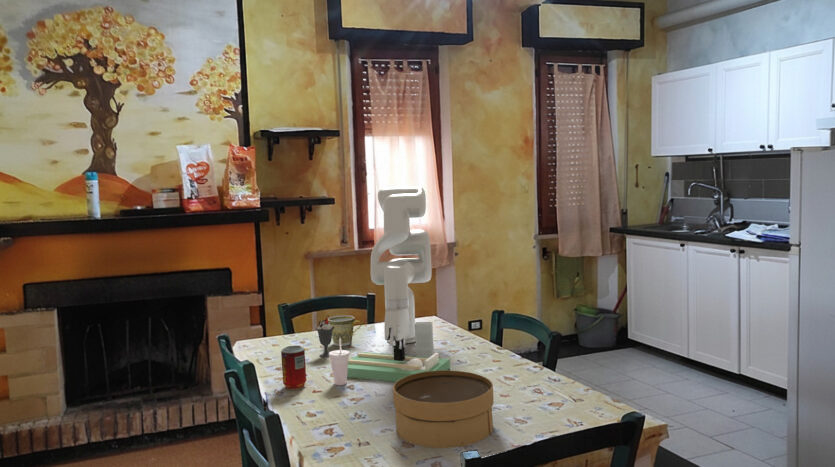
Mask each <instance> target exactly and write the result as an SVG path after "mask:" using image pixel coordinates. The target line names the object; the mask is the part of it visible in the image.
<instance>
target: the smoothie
mask: <svg viewBox="0 0 835 467" xmlns="http://www.w3.org/2000/svg"><path fill="white" fill-rule="evenodd" d="M339 344H340V346H339V349H336V350H331V351H329V357H328V358H329V359H330V365H331V370H332V375H333V376H332V377H333V382H334V385H336V386H343V385H346V384H347V382H348V377H347V372H348V359H349V357H350V356H351V355H350V351H349V350H347V349H343V348H342V346H341V339H339Z"/></svg>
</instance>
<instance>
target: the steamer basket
mask: <svg viewBox="0 0 835 467" xmlns="http://www.w3.org/2000/svg"><path fill="white" fill-rule="evenodd" d="M392 394H393V396H392V397H393V406H394V408H395V428H396V429H395V431H396V434H397V436H398V437H399V438H400V439H401V440H403V441H405V442H407V443H410V444H412V445H415V446H420V447H425V448H432V449H433V448H437V449H444V448H445V449H446V448H447V449H449V448H460V447H466V446H469V445H473V444H476V443H479V442H480V441H483V440H484V439H486V438H487V437H489V436H491V434H492V433H493V430H494V422H493V421H494V419H493V411H492V409H493V406H494V385H493V381H492V380H490V379H489V378H487V377H485V376H483V375H481V374H477V373H473V372H468V371H460V370H447V371H445V370H442V371H428V372H421V373H416V374H412V375H409V376H406V377H404V378H402V379H400V380H398V381H397V382H394V385H392Z"/></svg>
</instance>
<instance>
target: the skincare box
mask: <svg viewBox="0 0 835 467" xmlns="http://www.w3.org/2000/svg"><path fill="white" fill-rule="evenodd" d="M414 343H415V356H419V357H431V356H432V355H433V354H435V349H434V347H435V346H434V345H435V344H434V330H433V321H415V342H414Z"/></svg>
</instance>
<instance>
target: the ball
mask: <svg viewBox="0 0 835 467" xmlns="http://www.w3.org/2000/svg"><path fill="white" fill-rule="evenodd" d="M408 365H418V366H420V367H423V363H422V361H421V360H420V359H417V358H414V359H411V360H410V361H409V362H408Z"/></svg>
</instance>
